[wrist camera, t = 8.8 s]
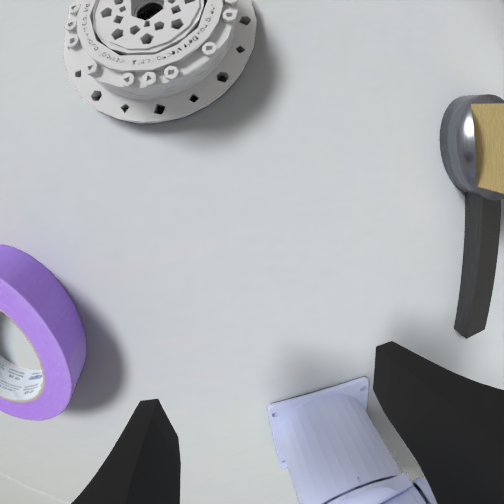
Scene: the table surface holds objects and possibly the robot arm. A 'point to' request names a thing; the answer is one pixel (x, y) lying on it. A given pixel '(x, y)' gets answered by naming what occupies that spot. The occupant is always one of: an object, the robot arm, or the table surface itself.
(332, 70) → the table surface
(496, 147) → the open wooden box
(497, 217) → the ratchet
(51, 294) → the masking tape
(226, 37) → the mechanical component
